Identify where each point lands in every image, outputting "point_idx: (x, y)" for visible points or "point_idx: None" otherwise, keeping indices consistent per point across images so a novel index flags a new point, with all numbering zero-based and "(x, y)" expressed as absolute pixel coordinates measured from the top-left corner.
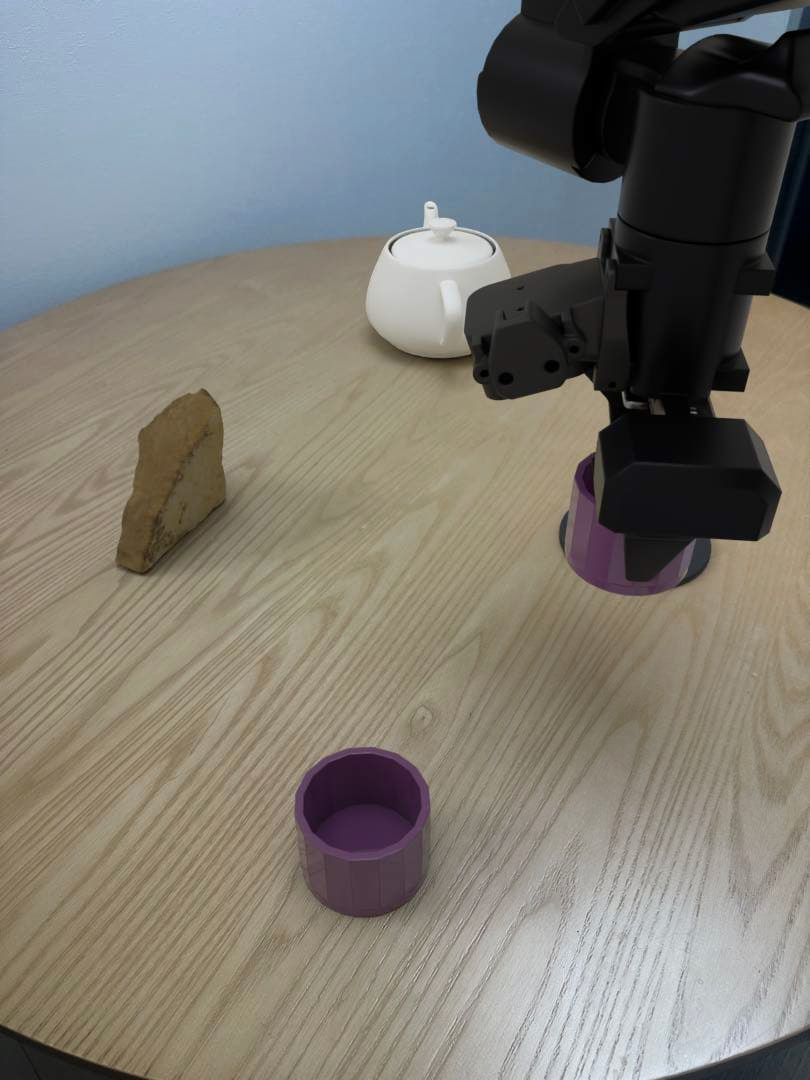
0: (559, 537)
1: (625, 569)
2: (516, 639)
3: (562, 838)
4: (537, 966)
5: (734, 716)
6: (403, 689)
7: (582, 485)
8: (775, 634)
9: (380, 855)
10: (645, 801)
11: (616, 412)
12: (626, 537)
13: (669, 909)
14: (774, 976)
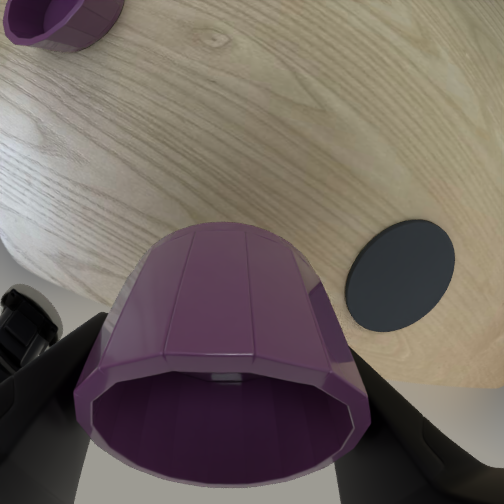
0: (426, 221)
1: (84, 323)
2: (310, 143)
3: (84, 149)
4: (12, 130)
5: None
6: (253, 25)
7: (198, 367)
8: None
9: (4, 21)
10: (116, 217)
11: (416, 481)
12: (11, 377)
13: (45, 214)
14: (25, 258)
